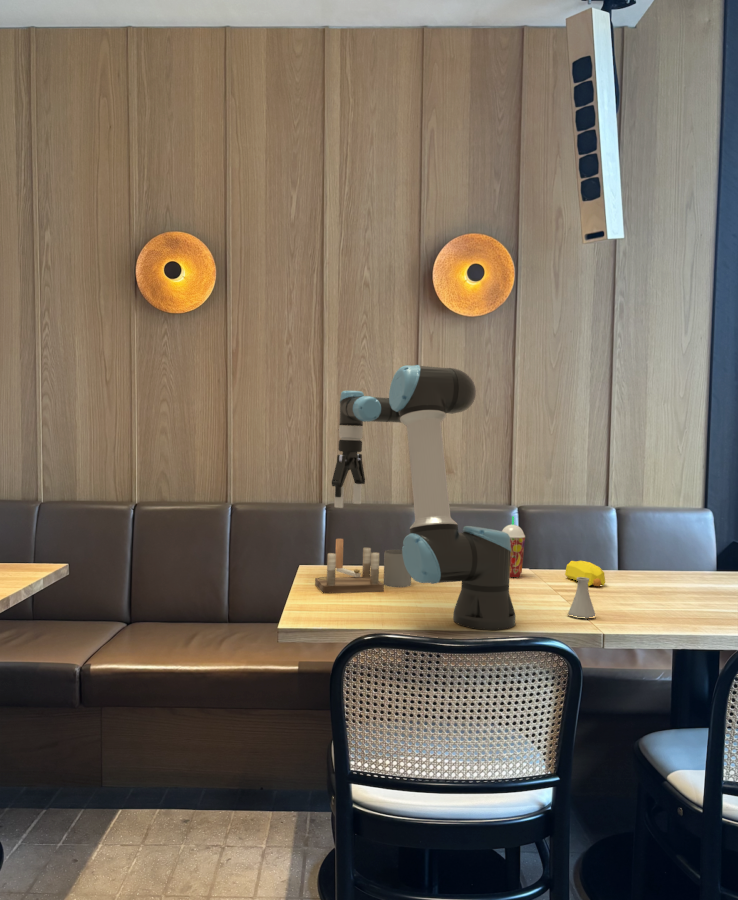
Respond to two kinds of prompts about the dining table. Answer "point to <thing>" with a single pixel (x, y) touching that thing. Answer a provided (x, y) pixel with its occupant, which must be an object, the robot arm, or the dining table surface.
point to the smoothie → (515, 548)
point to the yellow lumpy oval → (585, 572)
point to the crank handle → (340, 560)
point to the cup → (395, 569)
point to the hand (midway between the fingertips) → (348, 505)
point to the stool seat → (352, 583)
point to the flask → (582, 600)
